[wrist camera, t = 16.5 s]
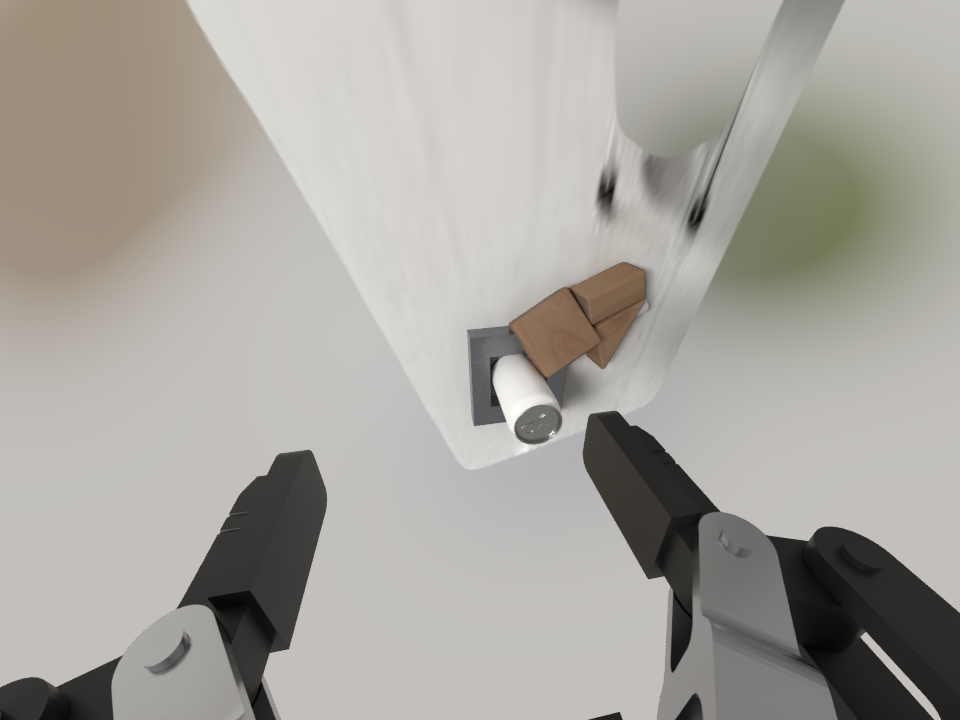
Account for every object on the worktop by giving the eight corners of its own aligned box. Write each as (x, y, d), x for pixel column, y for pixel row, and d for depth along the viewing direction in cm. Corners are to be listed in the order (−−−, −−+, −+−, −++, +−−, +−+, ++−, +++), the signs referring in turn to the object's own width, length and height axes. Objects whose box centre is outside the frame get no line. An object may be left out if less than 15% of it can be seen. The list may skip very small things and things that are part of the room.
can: (541, 375, 50) (574, 429, 40) (503, 397, 51) (526, 456, 40) (522, 343, 47) (552, 392, 36) (482, 367, 48) (500, 421, 37)
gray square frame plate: (467, 330, 45) (469, 338, 42) (562, 321, 46) (569, 328, 44) (471, 415, 51) (474, 426, 49) (554, 404, 53) (560, 414, 51)
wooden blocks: (626, 326, 52) (522, 379, 51) (621, 244, 44) (498, 305, 43) (663, 350, 46) (547, 411, 45) (666, 261, 38) (525, 332, 37)
